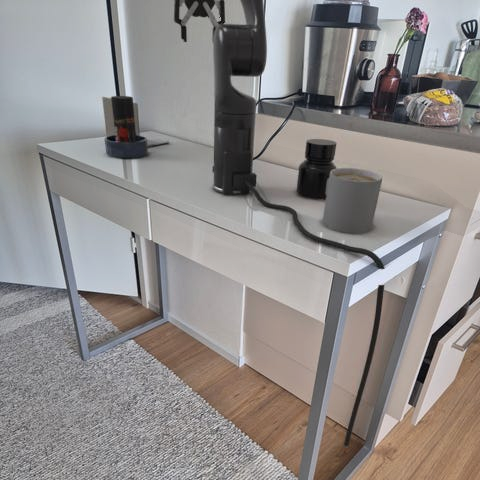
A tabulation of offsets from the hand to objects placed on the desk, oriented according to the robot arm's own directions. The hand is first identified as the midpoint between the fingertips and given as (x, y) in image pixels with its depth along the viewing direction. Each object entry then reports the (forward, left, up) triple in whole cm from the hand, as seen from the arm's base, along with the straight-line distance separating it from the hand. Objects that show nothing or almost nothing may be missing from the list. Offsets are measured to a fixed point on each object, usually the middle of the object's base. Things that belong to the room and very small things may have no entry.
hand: (199, 42), depth 126 cm
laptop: (+11, +20, -29) cm, 37 cm away
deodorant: (-7, +24, -29) cm, 38 cm away
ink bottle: (-51, -19, -29) cm, 62 cm away
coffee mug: (-70, -20, -29) cm, 78 cm away
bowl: (-7, +24, -29) cm, 38 cm away
